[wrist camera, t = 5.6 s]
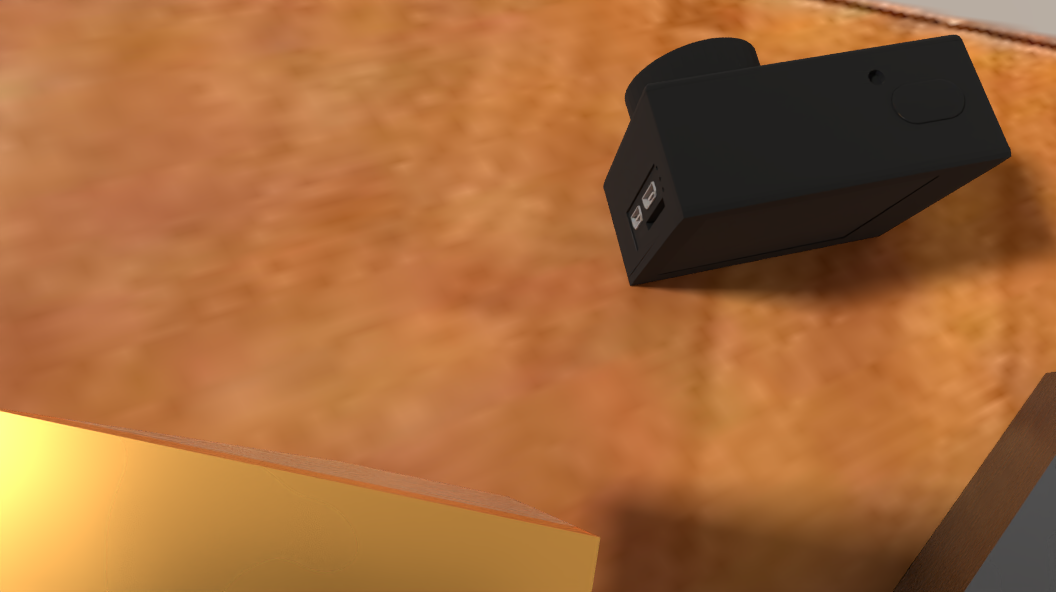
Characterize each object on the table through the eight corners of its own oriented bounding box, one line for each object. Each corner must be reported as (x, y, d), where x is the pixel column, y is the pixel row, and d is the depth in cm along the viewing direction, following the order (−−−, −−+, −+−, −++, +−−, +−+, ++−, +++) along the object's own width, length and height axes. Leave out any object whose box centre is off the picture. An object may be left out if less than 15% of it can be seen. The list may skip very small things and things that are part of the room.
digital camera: (835, 114, 28) (951, -3, 21) (881, 235, 26) (1019, 153, 20) (593, 156, 26) (633, 45, 20) (629, 286, 25) (684, 216, 18)
